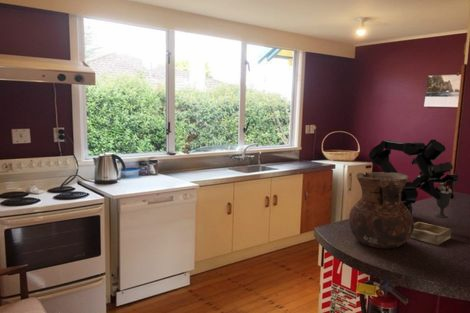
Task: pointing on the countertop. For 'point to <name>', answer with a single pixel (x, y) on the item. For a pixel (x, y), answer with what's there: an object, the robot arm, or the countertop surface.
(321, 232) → the countertop surface
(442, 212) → the sundae
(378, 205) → the jug
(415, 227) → the cream square tray
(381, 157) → the robot arm
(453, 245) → the countertop surface
